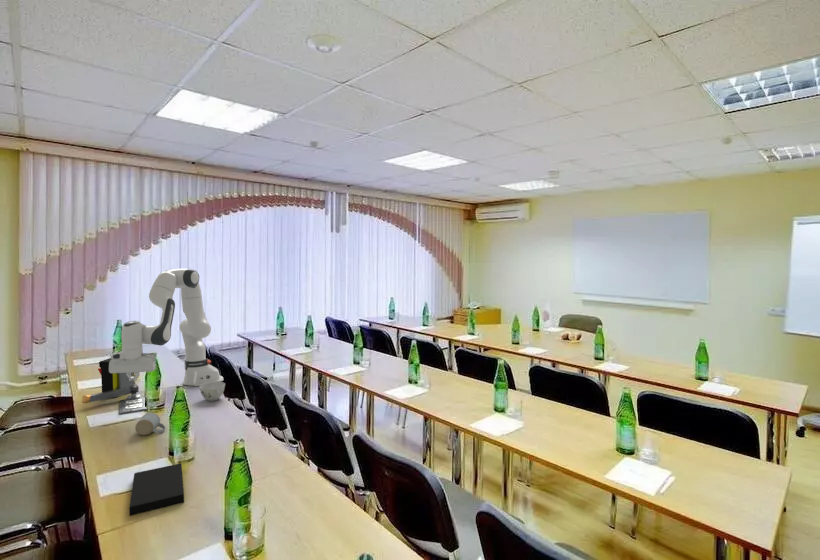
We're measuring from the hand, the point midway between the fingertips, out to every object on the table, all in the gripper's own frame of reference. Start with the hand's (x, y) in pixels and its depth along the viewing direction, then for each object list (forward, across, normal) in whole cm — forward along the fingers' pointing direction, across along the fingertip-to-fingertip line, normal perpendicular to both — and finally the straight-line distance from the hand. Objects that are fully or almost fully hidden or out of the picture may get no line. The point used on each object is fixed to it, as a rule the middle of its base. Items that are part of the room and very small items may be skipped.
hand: (133, 380), depth 214 cm
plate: (+14, +2, -4) cm, 15 cm away
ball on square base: (+14, +7, -19) cm, 24 cm away
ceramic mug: (+14, -20, +35) cm, 42 cm away
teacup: (+14, -36, -6) cm, 39 cm away
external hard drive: (+15, -39, +87) cm, 97 cm away
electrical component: (+14, +18, -30) cm, 38 cm away
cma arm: (+11, +15, -12) cm, 22 cm away
